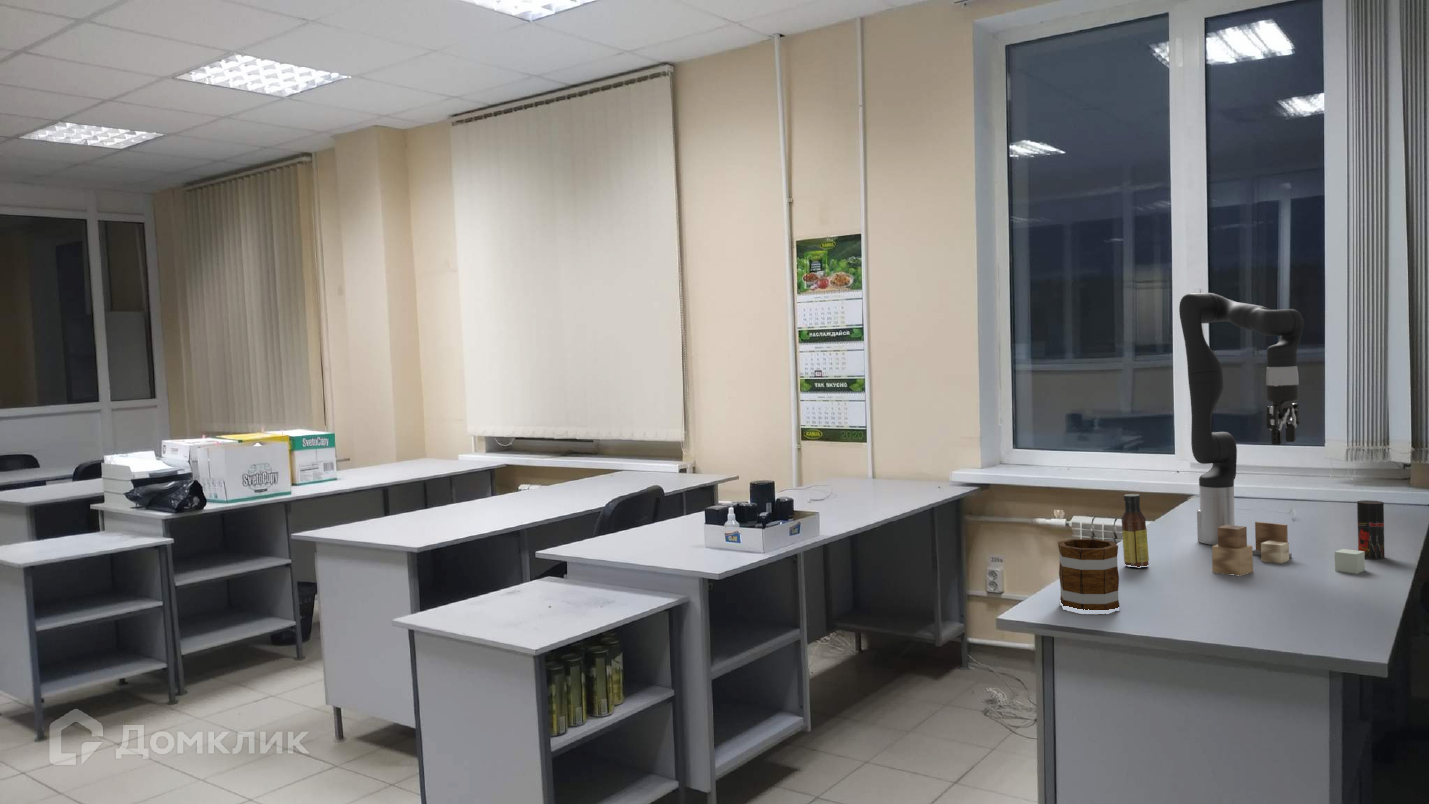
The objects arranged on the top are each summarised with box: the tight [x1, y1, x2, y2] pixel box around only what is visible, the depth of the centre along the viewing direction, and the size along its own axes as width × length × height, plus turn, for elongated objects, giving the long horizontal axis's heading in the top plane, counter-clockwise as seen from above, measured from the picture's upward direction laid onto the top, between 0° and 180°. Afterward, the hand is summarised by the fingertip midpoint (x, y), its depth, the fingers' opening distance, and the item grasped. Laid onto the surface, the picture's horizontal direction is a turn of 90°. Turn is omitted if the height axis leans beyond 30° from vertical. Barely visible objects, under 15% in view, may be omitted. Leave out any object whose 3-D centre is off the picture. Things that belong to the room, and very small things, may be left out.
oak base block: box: [1211, 544, 1254, 577], centre depth 249 cm, size 7×7×7 cm
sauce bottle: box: [1121, 493, 1150, 567], centre depth 260 cm, size 6×6×20 cm
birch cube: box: [1260, 540, 1290, 564], centre depth 259 cm, size 5×5×5 cm
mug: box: [1057, 538, 1120, 610], centre depth 224 cm, size 20×14×15 cm
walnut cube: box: [1218, 524, 1248, 549], centre depth 249 cm, size 5×5×5 cm
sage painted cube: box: [1334, 548, 1366, 574], centre depth 245 cm, size 5×5×5 cm
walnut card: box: [1252, 521, 1292, 559], centre depth 265 cm, size 9×3×9 cm, turn 37°
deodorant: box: [1356, 499, 1386, 560], centre depth 258 cm, size 6×6×15 cm
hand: (1283, 443), depth 258 cm, fingers open, 8 cm apart
